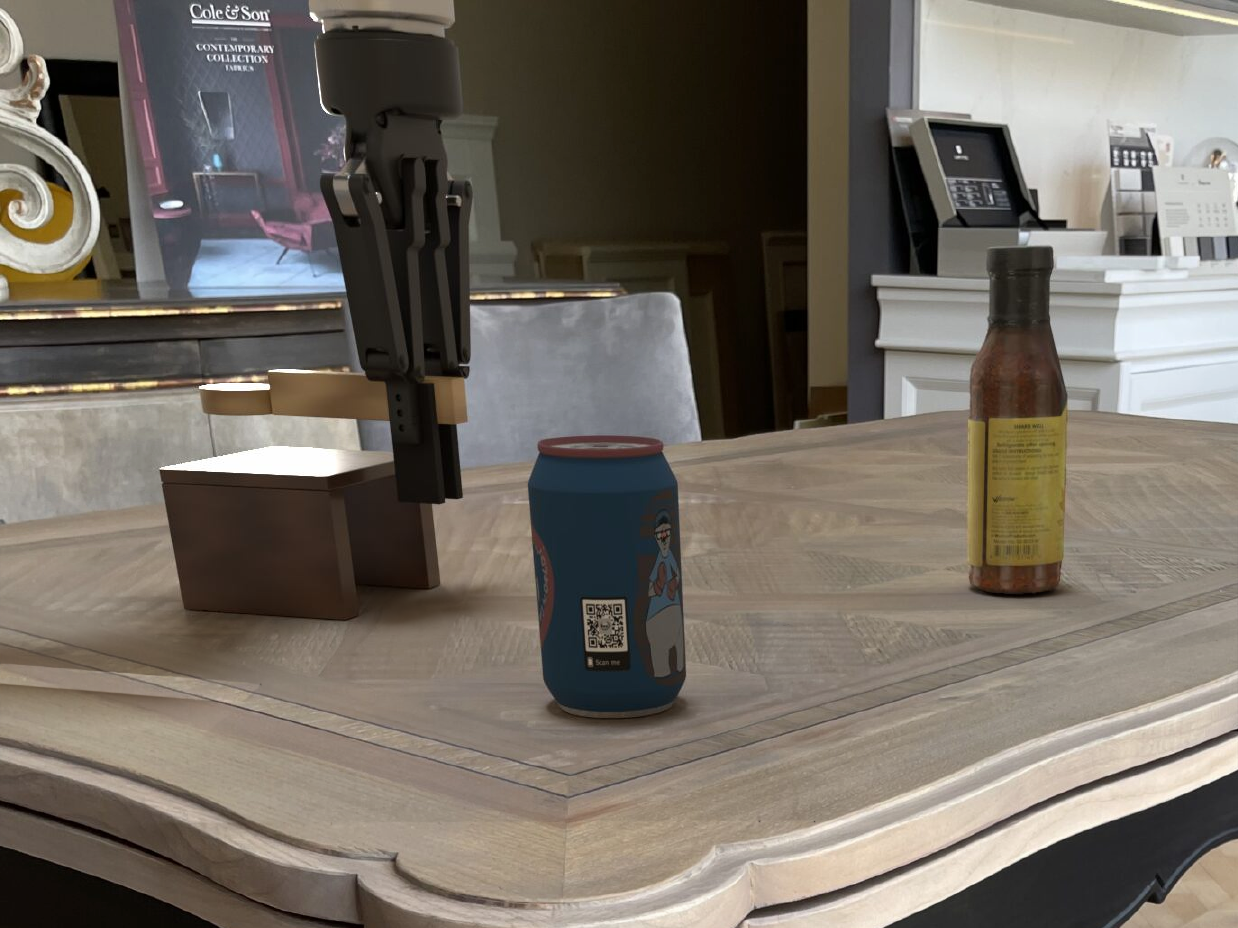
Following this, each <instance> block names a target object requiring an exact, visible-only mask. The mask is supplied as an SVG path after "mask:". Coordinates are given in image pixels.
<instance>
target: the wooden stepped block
mask: <svg viewBox="0 0 1238 928" xmlns="http://www.w3.org/2000/svg"><path fill="white" fill-rule="evenodd" d="M266 374H267V381H268V384H267V383H215V384H206V385H201V386H199V387H198V389H199V396H200V403H201V409H202V410H201V411H202V412H203V414H207V415H212V416H229V417H230V416H233V417H234V416H235V417H236V416H237V417H238V416H239V417H240V416H241V417H246V416H249V417H250V416H252V417H253V416H267V415H273V416H285V417H302V418H303V417H305V418H321V419H323V418H324V419H341V420H343V419H344V420H345V419H346V420H361V421H380V422H381V421H382V422H390V419H389V410H388V401H387V391H386V385H385V382H376V381H369V380H368V379H367V377H366V374H365V372H351V371H350V372H348V371H331V370H330V371H327V370H307V369H306V370H304V369H286V368H284V369H282V368H281V369H273V370H267V371H266ZM423 383H434V389H435V400H436V411H437V421H438V424H457V425H458V424H465V423H468V421H469V419H468V409H467V397H466V395H467V394H466V385H465V379H464V378H462V377H440V376H425V378H424V381H423Z"/></svg>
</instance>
